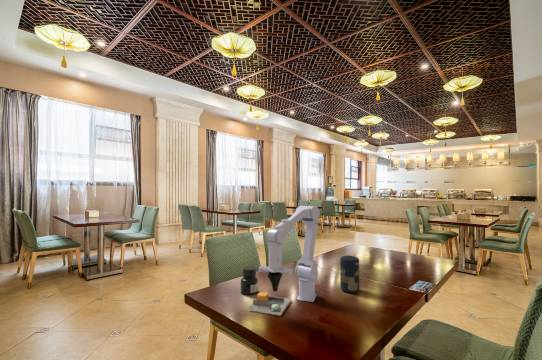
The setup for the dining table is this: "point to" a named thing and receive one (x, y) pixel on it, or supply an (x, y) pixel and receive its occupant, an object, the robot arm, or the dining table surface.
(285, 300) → the panel
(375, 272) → the dining table surface
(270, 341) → the dining table surface
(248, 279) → the ink bottle
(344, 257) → the canister
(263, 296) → the toggle
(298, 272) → the robot arm
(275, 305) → the button
